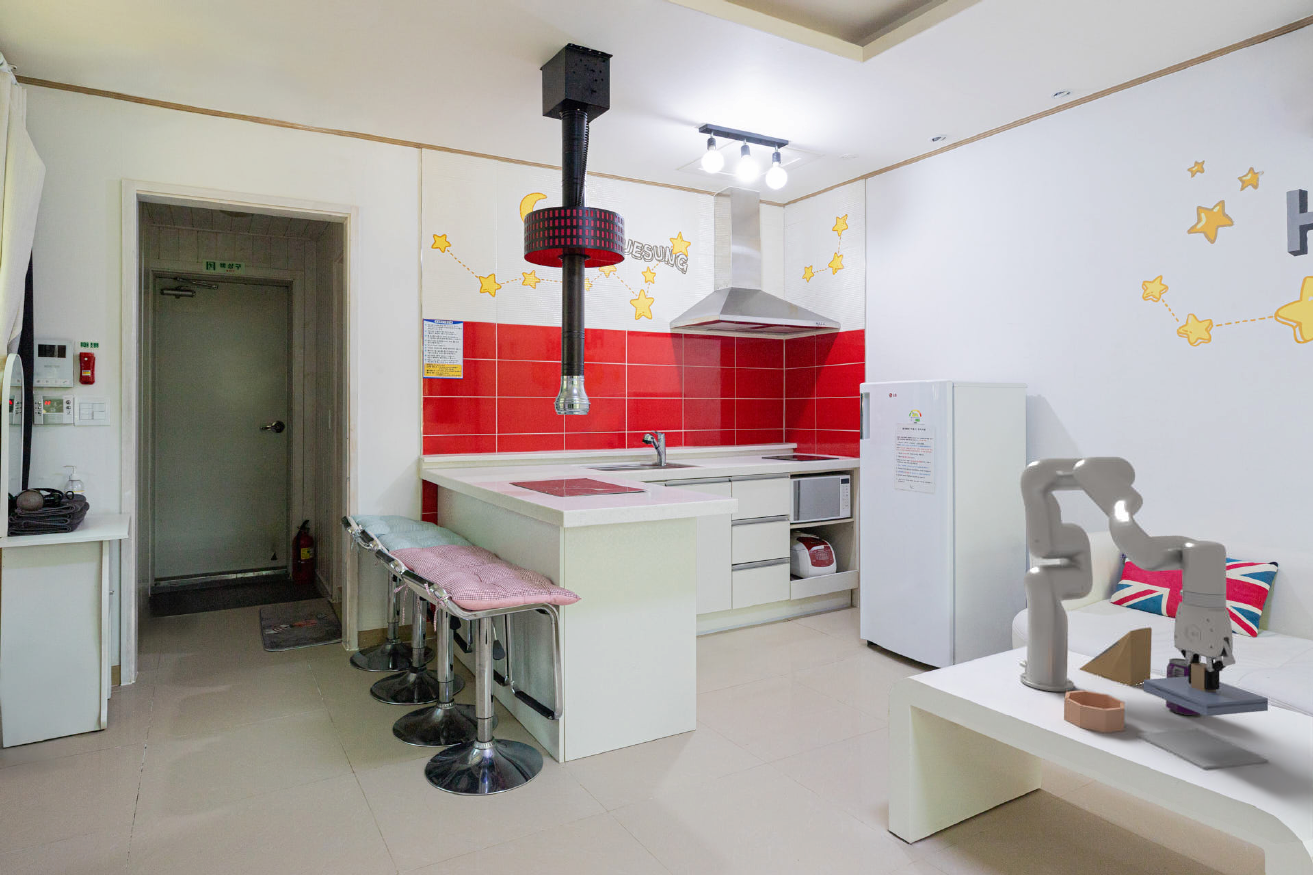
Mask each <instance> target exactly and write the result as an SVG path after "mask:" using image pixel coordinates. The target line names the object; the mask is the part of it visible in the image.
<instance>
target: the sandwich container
mask: <svg viewBox="0 0 1313 875" xmlns="http://www.w3.org/2000/svg"><path fill="white" fill-rule="evenodd" d="M1152 631H1153V629H1152V627H1150V626H1149V627H1144V628H1137V629H1134V630H1132V629H1131V630H1130V631H1128V632H1127V633H1126V634H1125V635H1123V636H1122V637H1121V638H1119V639H1118V640H1117V641H1115V642H1114V643H1112V645H1110V646H1109V647H1107V648H1106V649H1105V650H1104V651H1102V652H1100V653H1099V654H1098V655H1097V656H1095V657H1094V658H1092V659H1091V660H1089V661H1088V662H1086V663H1084V665H1083V666H1081V667H1079V668H1078V670H1080V671H1083V672H1086V673H1089V674H1091V673H1092V674H1091V675H1094V676H1097V675H1098V677H1100V676H1101V677H1100V678H1103V679H1107V680H1109V681H1112V680H1113V681H1112V682H1115V681H1116V683H1118V682H1120V683H1119V684H1121V683H1122V684H1121V685H1125V684H1127V685H1126V686H1128V685H1129V686H1128V687H1134V686H1133V685H1135V686H1137V685H1136V684H1140V683H1143V682H1144V680H1147V679H1151V671H1152V670H1151V668H1152V664H1151V663H1152V635H1153V632H1152ZM1140 685H1141V684H1140Z"/></svg>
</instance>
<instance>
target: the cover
mask: <svg viewBox="0 0 1313 875" xmlns="http://www.w3.org/2000/svg"><path fill="white" fill-rule="evenodd" d="M1205 670H1207V663H1205V662H1201V663H1191V684H1189V683H1188V676H1186V677H1173V678H1167V677H1162V678H1161V677H1160V678H1150V679H1147V680H1144V684H1143V692H1145V693H1147V694H1150V695H1151V696H1152V695H1153V696H1155V697H1158V698H1161V699H1162V700H1164V701H1166V700H1167V701H1170V702H1172V703H1175V704H1177V705H1180V706H1183V707H1185V708H1188V709H1190V710H1193V711H1195V712H1198V713H1200V714H1199V715H1203V716H1206V717H1211V716H1212V717H1213V716H1222V715H1233V714H1235V715H1236V714H1243V713H1244V714H1245V713H1257V712H1267V711H1269V704H1268V702H1269V699H1268V697H1265V696H1262V695H1259V694H1256V693H1253V692H1250V691H1247V690H1245V689H1242V688H1239V687H1236V686H1233V685H1230V684H1227V683H1224V682H1220V681H1219V689H1218V690H1206V689H1205V687H1204V672H1205Z"/></svg>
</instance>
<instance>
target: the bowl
mask: <svg viewBox="0 0 1313 875" xmlns="http://www.w3.org/2000/svg"><path fill="white" fill-rule="evenodd" d="M1063 704H1064V706H1063V708H1064V709H1063V710H1064V711H1063V720H1064V721H1067V722H1069V723H1071V724H1072V723H1073V725H1075V726H1076V727H1078V728H1080V727H1082V729H1085V728H1086V730H1090V729H1092V730H1091V731H1096V732H1101V733H1105V732H1106V733H1115V732H1125V719H1126V718H1125V714H1126V709H1125V708H1126V705H1125V704H1126V702H1125V701H1123V700H1121V699H1118V698H1116V697H1114V696H1113V695H1110V694H1108V693H1107V694H1106V693H1100V692H1095V691H1090V690H1085V689H1084V690H1083V689H1082V690H1074V691H1073V690H1069V691H1065V696H1064V700H1063Z"/></svg>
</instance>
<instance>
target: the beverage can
mask: <svg viewBox="0 0 1313 875" xmlns="http://www.w3.org/2000/svg"><path fill="white" fill-rule="evenodd" d="M1186 676H1188V664H1186V662H1185V658H1177V657H1174V658H1169V663H1168V664H1167V666H1166V678H1173V677H1186ZM1165 706H1166V708H1168V709H1169V710H1171V711H1172V712H1174V713H1175V714H1178V713H1179V714H1180V715H1182V714H1184V715H1183V716H1188V715H1190V716H1191V715H1192V717H1193V715H1194V716H1197V715H1201V714H1200V713H1198V712H1195V711H1193V710H1190V709H1188V708H1185V707H1183V706H1180V705H1177V704H1175V703H1172V702H1170V701H1167V700H1165ZM1179 714H1178V715H1179Z"/></svg>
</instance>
